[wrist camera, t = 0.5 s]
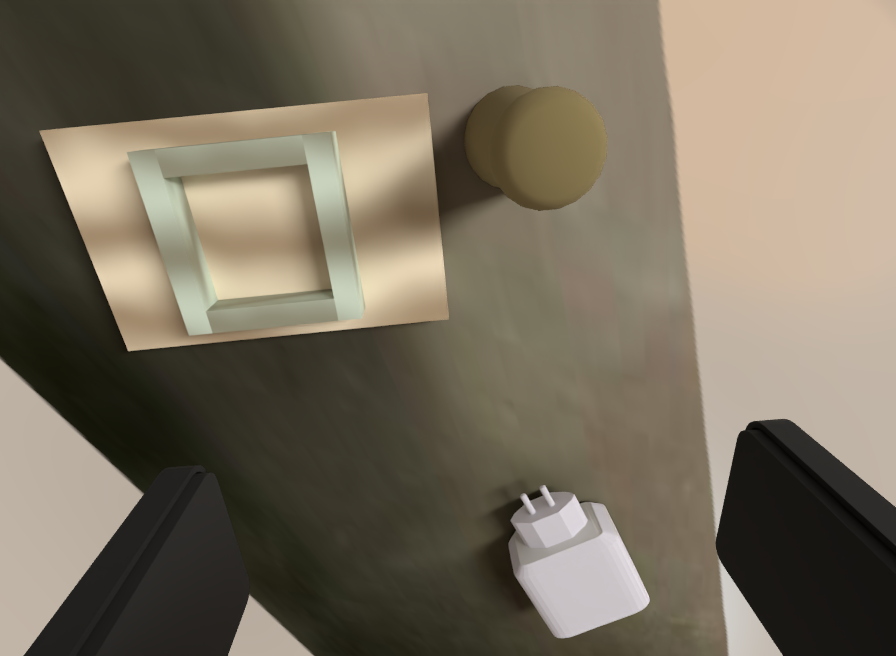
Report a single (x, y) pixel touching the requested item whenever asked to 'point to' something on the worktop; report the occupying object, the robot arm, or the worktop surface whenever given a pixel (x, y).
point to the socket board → (260, 220)
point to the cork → (537, 144)
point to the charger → (573, 563)
